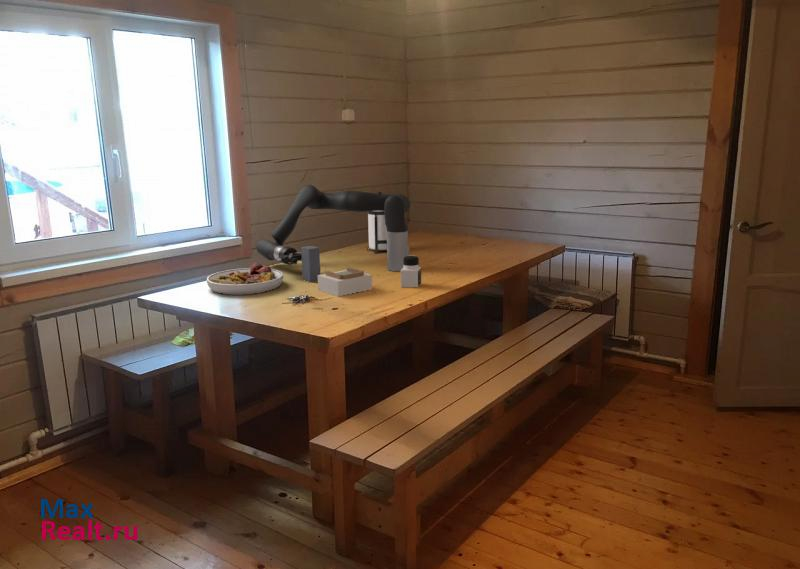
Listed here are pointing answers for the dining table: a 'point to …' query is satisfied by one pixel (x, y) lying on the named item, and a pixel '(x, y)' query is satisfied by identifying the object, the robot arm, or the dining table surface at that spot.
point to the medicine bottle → (411, 272)
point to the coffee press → (377, 230)
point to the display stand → (344, 282)
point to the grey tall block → (310, 263)
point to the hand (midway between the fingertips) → (305, 260)
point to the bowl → (245, 280)
